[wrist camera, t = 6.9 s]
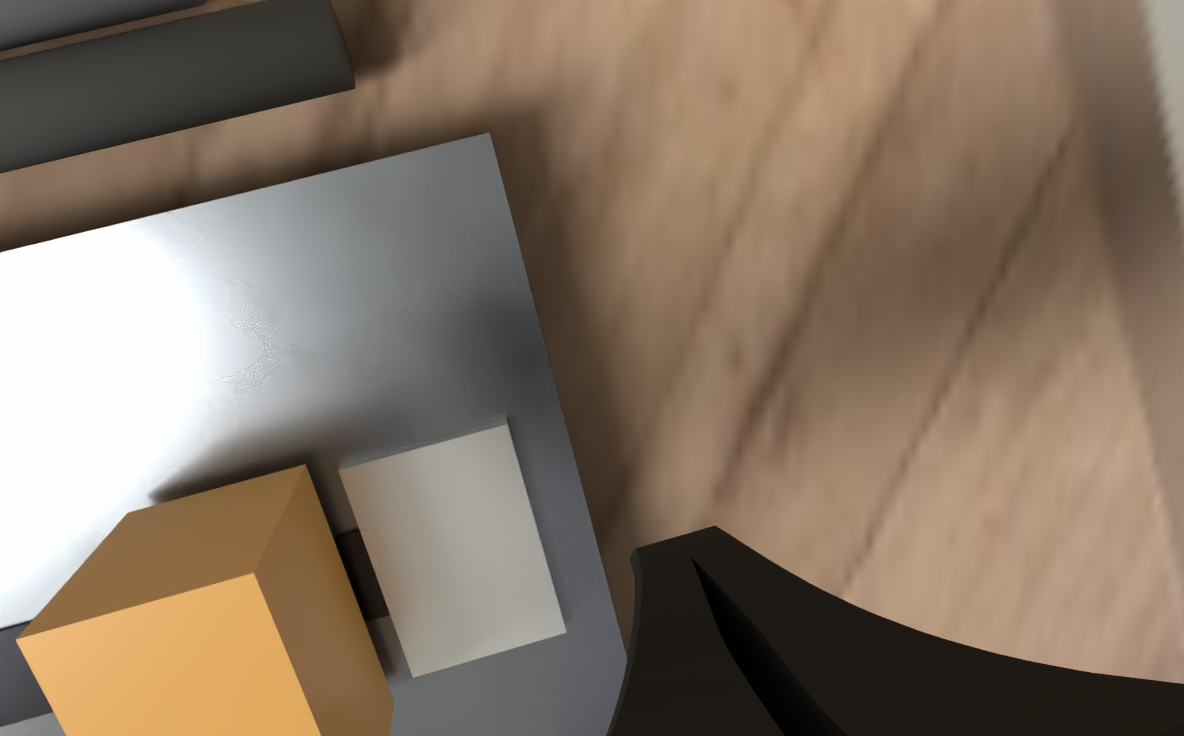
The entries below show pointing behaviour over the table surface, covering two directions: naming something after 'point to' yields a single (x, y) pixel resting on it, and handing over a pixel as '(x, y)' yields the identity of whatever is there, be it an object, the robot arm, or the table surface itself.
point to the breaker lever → (213, 624)
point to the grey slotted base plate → (156, 71)
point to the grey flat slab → (321, 426)
